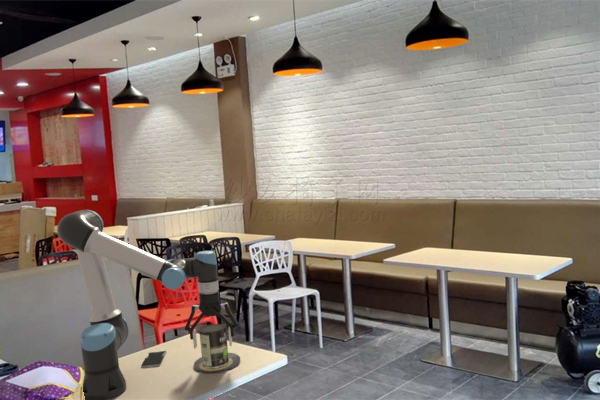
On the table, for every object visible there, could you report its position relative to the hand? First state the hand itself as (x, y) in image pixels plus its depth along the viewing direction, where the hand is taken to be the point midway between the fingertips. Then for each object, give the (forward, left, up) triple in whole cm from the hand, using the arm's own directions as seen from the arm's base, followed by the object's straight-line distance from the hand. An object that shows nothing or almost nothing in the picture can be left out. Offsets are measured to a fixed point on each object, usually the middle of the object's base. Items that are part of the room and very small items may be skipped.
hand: (213, 346), depth 211 cm
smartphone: (-27, +13, -9) cm, 31 cm away
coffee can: (0, 0, -7) cm, 7 cm away
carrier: (0, +3, -8) cm, 9 cm away
